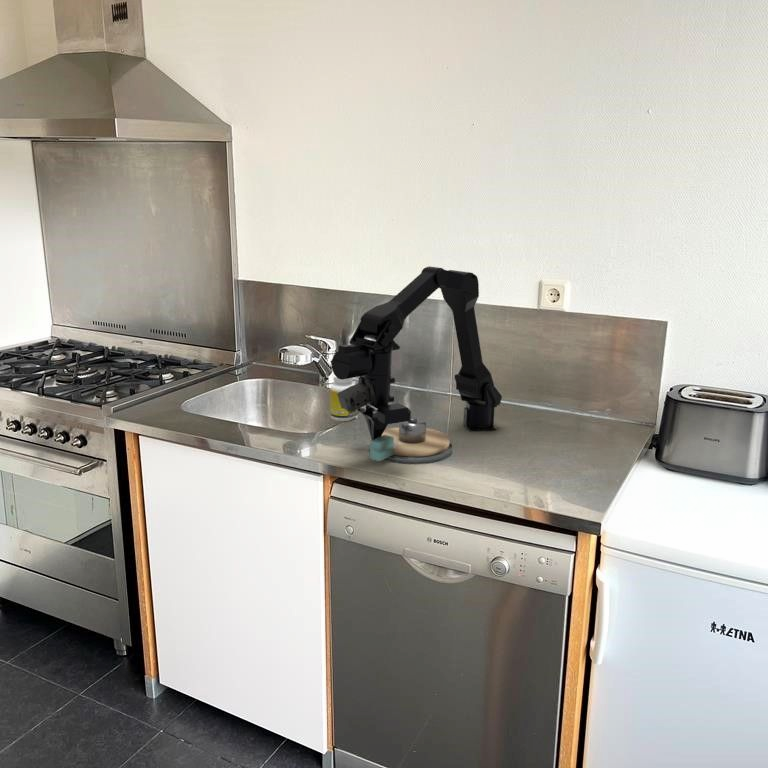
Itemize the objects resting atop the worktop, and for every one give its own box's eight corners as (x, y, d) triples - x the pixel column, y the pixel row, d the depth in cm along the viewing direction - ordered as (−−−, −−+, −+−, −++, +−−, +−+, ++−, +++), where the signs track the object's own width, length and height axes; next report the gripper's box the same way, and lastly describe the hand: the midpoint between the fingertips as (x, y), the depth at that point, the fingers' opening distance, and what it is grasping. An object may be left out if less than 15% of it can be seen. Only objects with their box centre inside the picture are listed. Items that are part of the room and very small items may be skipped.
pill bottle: (351, 422, 189) (352, 379, 186) (327, 420, 190) (327, 377, 187) (357, 415, 195) (358, 373, 192) (334, 413, 196) (334, 371, 193)
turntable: (402, 426, 182) (402, 410, 181) (463, 441, 172) (464, 424, 171) (343, 451, 165) (343, 433, 164) (407, 469, 155) (408, 450, 154)
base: (439, 434, 181) (440, 429, 181) (461, 461, 164) (461, 456, 164) (365, 438, 178) (365, 433, 177) (379, 466, 161) (379, 460, 160)
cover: (408, 432, 174) (409, 412, 173) (430, 438, 171) (431, 418, 169) (393, 439, 169) (393, 419, 168) (415, 445, 166) (415, 424, 165)
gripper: (323, 365, 163) (322, 434, 167) (365, 387, 148) (363, 462, 152) (368, 361, 169) (366, 428, 173) (414, 381, 153) (410, 454, 157)
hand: (375, 442), depth 164 cm, fingers closed
